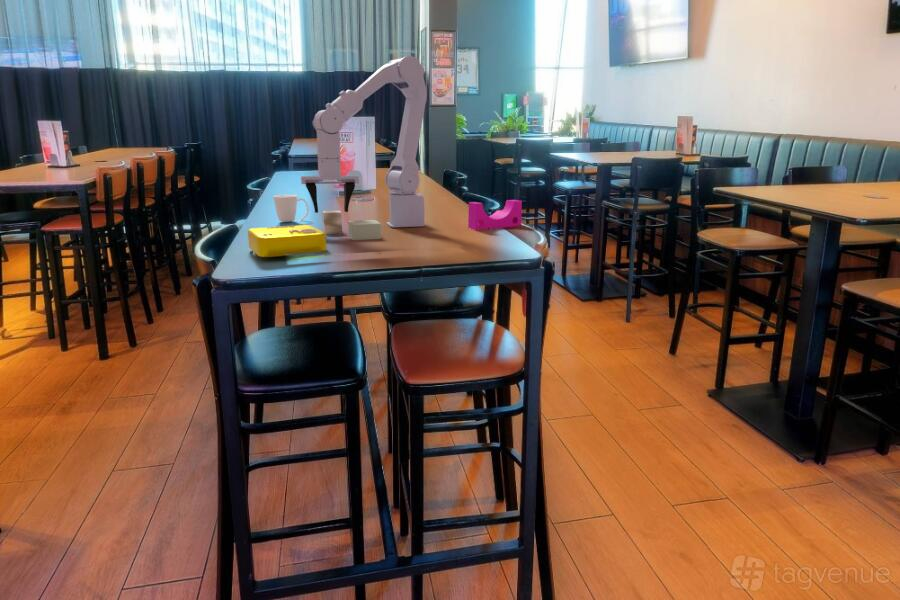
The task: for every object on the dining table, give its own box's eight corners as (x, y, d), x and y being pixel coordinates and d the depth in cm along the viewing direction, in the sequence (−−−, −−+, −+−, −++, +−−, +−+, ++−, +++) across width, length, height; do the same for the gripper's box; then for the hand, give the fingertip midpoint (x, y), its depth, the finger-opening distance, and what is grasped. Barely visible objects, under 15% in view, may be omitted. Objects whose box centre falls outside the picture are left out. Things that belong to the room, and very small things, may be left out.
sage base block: (375, 235, 158) (375, 219, 157) (381, 239, 151) (380, 223, 150) (348, 236, 156) (348, 220, 155) (353, 240, 149) (352, 224, 148)
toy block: (508, 225, 176) (509, 199, 174) (521, 227, 171) (521, 201, 169) (463, 228, 169) (463, 201, 167) (475, 231, 164) (475, 203, 162)
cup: (271, 223, 177) (269, 195, 174) (304, 221, 182) (303, 193, 180) (279, 226, 171) (277, 197, 169) (313, 223, 176) (311, 195, 174)
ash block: (340, 230, 164) (339, 210, 162) (342, 233, 159) (341, 212, 158) (323, 231, 162) (322, 210, 161) (324, 234, 158) (323, 212, 157)
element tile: (311, 242, 148) (310, 222, 147) (329, 252, 135) (328, 231, 134) (247, 247, 142) (245, 226, 140) (259, 258, 129) (257, 235, 127)
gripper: (355, 158, 162) (357, 209, 165) (299, 158, 158) (302, 210, 161) (359, 159, 155) (360, 212, 159) (300, 159, 151) (303, 214, 155)
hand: (331, 211), depth 160 cm, fingers open, 7 cm apart
